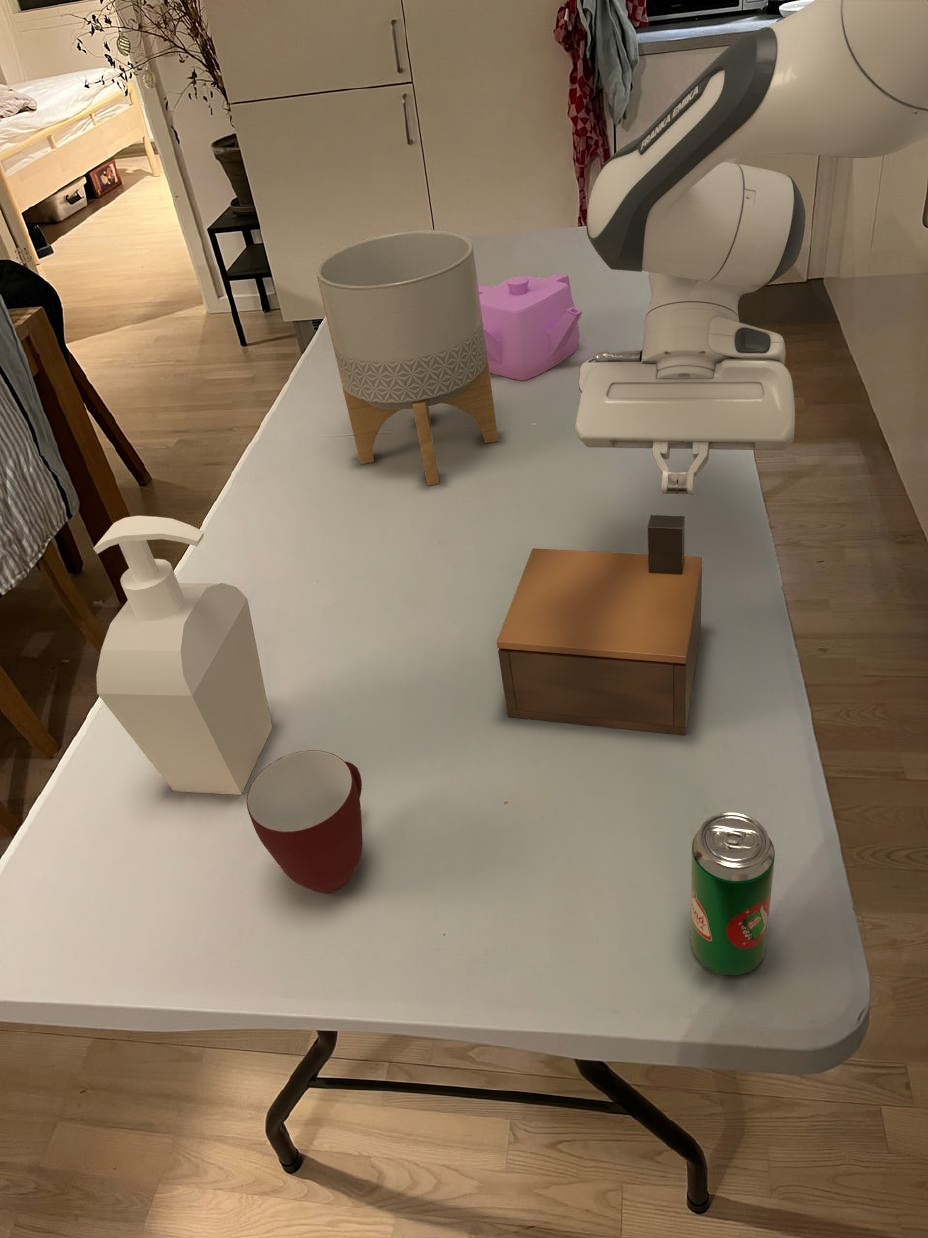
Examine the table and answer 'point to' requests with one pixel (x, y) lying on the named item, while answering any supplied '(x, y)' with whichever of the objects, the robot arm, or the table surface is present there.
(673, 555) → the sliding lid
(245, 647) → the soap bottle
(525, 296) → the teakettle
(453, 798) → the table surface
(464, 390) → the planter
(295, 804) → the mug
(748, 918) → the soda can
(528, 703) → the storage box
